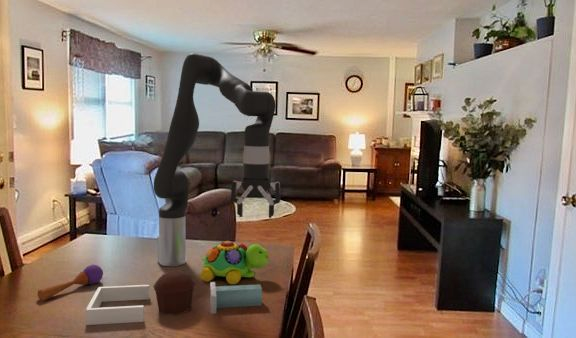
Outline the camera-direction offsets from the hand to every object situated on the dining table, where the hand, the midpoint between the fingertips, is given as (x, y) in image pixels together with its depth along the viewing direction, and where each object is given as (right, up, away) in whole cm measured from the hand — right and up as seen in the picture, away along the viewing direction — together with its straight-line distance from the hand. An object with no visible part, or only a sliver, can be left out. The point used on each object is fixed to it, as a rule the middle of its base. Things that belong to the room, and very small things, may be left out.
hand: (255, 216), depth 137 cm
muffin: (-22, -25, -6) cm, 34 cm away
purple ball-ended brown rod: (-56, -23, +5) cm, 61 cm away
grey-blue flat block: (-6, -25, -3) cm, 26 cm away
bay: (-36, -25, -9) cm, 45 cm away
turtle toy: (-8, -22, +20) cm, 31 cm away
